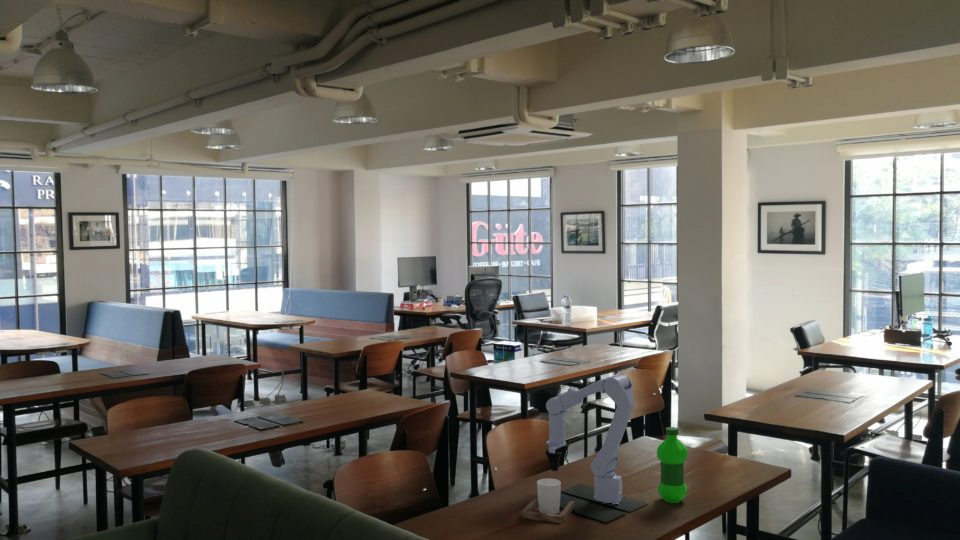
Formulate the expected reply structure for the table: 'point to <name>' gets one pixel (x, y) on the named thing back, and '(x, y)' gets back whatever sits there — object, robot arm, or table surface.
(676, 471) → the plastic bottle
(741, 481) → the table surface
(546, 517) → the walnut bay
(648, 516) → the table surface
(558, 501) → the white cup
